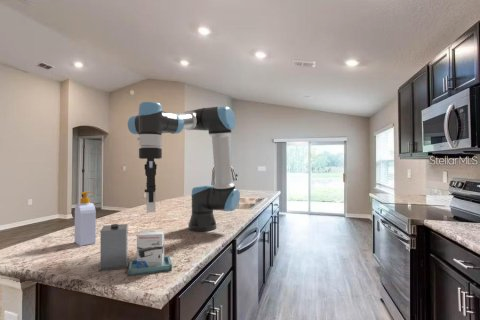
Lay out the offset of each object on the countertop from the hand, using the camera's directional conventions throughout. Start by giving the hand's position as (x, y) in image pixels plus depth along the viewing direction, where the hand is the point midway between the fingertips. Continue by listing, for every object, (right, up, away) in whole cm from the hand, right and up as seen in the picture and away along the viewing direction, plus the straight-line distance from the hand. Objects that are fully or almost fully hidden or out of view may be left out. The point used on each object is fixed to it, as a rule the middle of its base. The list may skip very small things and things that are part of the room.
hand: (150, 208), depth 95 cm
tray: (0, -20, 0) cm, 20 cm away
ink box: (0, -20, 0) cm, 20 cm away
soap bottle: (-39, -21, +29) cm, 52 cm away
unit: (-14, -20, +3) cm, 25 cm away
